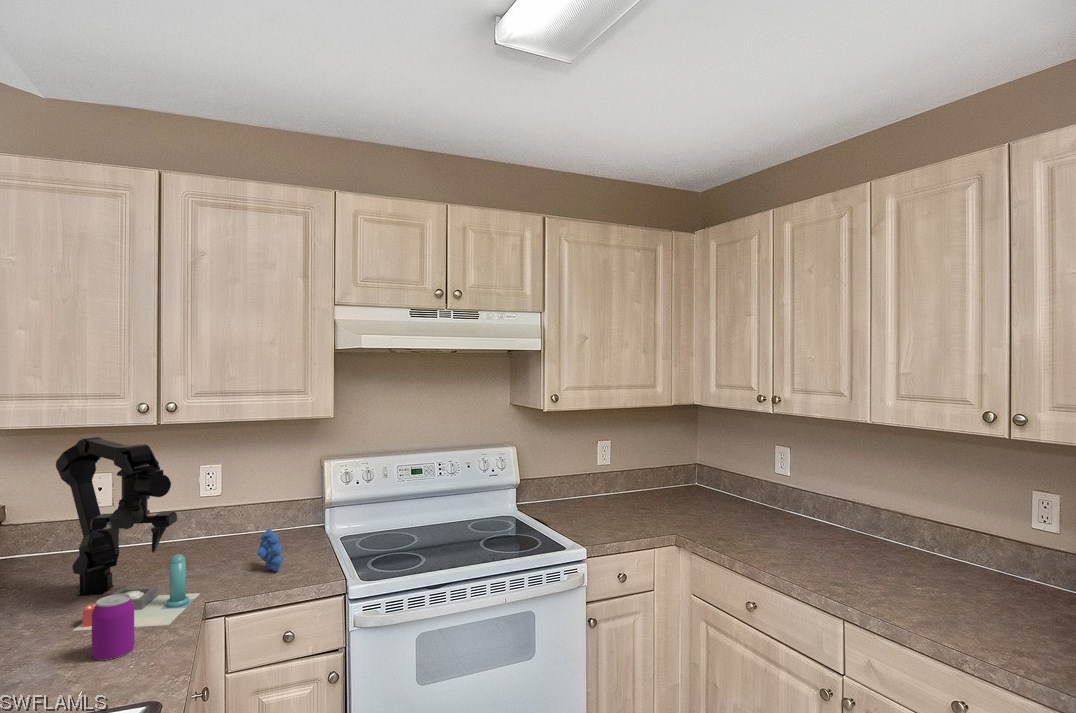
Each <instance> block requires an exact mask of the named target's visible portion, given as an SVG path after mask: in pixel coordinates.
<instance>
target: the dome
mask: <svg viewBox="0 0 1076 713" xmlns="http://www.w3.org/2000/svg"><path fill="white" fill-rule="evenodd" d="M124 594H128V595H130V598H131V599H136V598H140V597H141V596H142V595H144V593H143V592H140V591H129V592H126V593H124Z"/></svg>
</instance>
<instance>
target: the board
mask: <svg viewBox="0 0 1076 713" xmlns="http://www.w3.org/2000/svg"><path fill="white" fill-rule="evenodd" d="M200 594H201V593H200V592H197V593H186V596H188V597H189V603H188V604H187V605H184V606H182V607H177V608H169V607H167V600H168V599H170V594H158V596H157V597H156V598H155V599H154V600H153V601H151V602H150V603H149V604H148V605H147V606H146V607H145V608H143V609H142V610H134V628H139V627H141V628H143V627H157V626H169V625H171V623H172V622H173V621H174V620H176V619H177V618H178V617H179V616H180V614H181V613H182V612H183V611H185V609H186V608H187V607H188V606H189V605H190V604H191V603H192V602H193V601H195V599H197V597H199V596H200ZM87 630H88V631H90V630H91V631H92V626H88V627H83V622H81V623H80V624H79V625H78V626H77V627H75V628H74V629H73V630H72V631H76V632H77V631H87Z"/></svg>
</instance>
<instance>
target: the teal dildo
mask: <svg viewBox="0 0 1076 713" xmlns="http://www.w3.org/2000/svg"><path fill="white" fill-rule="evenodd" d="M186 561H187V560H186V557H185V556H184V555H183V554H175V555H173V556H172V557H171V558H170V560H169V595H170V599H168V600H167V607H169V608H177V607H182V606H184V605H187V604H188V603H189V597H188V596H186V594H187V590H186V589H187V588H186V585H187V584H186V583H187V582H186V581H187V580H186V579H187V578H186V576H187V575H186V574H187V571H186V570H187V569H186V565H187V564H186V563H187V562H186Z"/></svg>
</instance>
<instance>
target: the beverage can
mask: <svg viewBox="0 0 1076 713" xmlns="http://www.w3.org/2000/svg"><path fill="white" fill-rule="evenodd" d="M114 594H115V593H114ZM95 603H96V605H95V607H94V609H93V612H92V630H91V656H92V657H93V658H94V659H95V660H99V661H107V660H109V659H110V660H114V659H113V658H115V659H118V658H121V657H123V655H124V656H125V654H126V655H127V654H129V653H131V651H132V650H134V648H135V627H134V604H133V602H132V600H131V598H130V595H128V594H115V595H113V594H110V595H107V596H104V597H101V598H99V599H98V600H96V602H95ZM120 656H121V657H120ZM117 657H118V658H117Z"/></svg>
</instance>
